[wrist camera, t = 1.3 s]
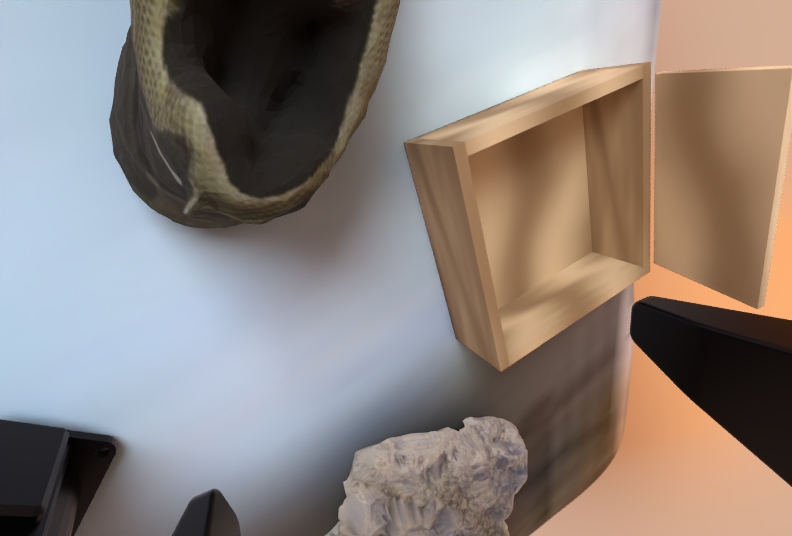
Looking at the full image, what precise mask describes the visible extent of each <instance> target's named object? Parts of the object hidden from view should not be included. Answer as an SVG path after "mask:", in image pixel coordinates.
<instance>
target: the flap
mask: <svg viewBox="0 0 792 536" xmlns="http://www.w3.org/2000/svg"><path fill="white" fill-rule="evenodd" d="M791 131H792V65H790V66H789V65H788V66H767V67H745V68H724V69H703V70H682V71H662V72H659V73H656V74H655V179H654V263H655V264H657V265H660V266H662V267H664V268H666V269H669V270H670V271H673V272H675V273H677V274H680V275H682V276H684V277H687V278H689V279H691V280H693V281H695V282H697V283H700V284H702V285H704V286H707V287H709V288H711V289H713V290H715V291H718V292H720V293H722V294H724V295H727V296H729V297H731V298H733V299H736V300H738V301H740V302H742V303H745V304H747V305H749V306H751V307H754V308H756V309H759V308H761V307H763V306H764V304H765V297H766V291H767V284H768V278H769V272H770V265H771V258H772V252H773V246H774V240H775V233H776V227H777V220H778V214H779V208H780V201H781V195H782V188H783V182H784V176H785V169H786V163H787V156H788V150H789V144H790V137H791Z"/></svg>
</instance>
